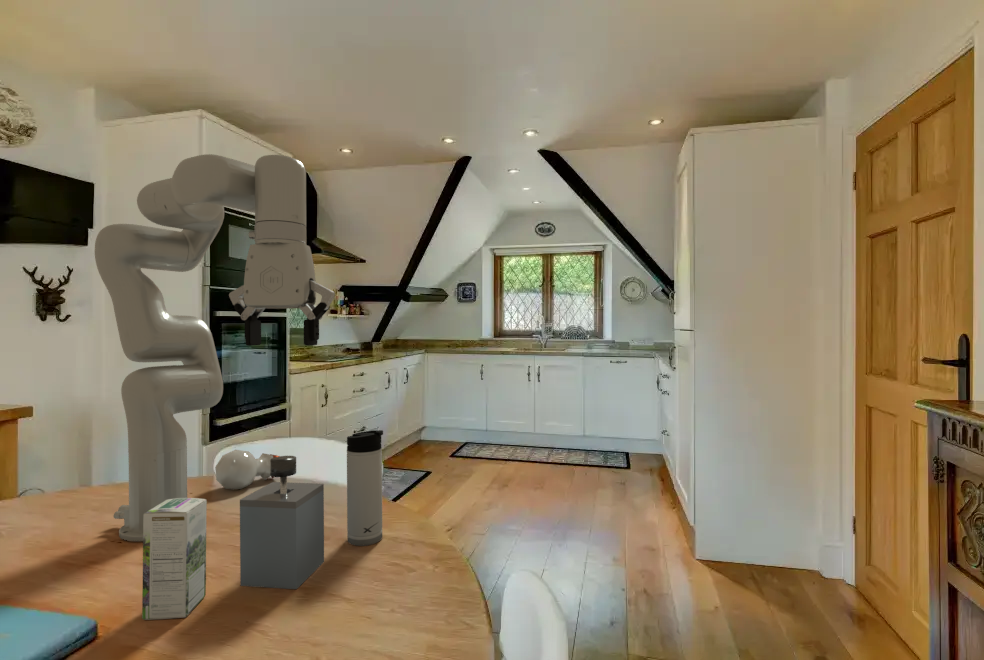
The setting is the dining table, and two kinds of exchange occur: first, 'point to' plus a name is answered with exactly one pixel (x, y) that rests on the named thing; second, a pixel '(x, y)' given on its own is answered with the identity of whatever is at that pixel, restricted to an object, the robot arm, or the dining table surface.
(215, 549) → the dining table surface
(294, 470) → the plunger
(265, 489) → the grey box with hole
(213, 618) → the dining table surface
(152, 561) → the syrup box
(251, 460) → the potion bottle
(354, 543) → the travel mug
